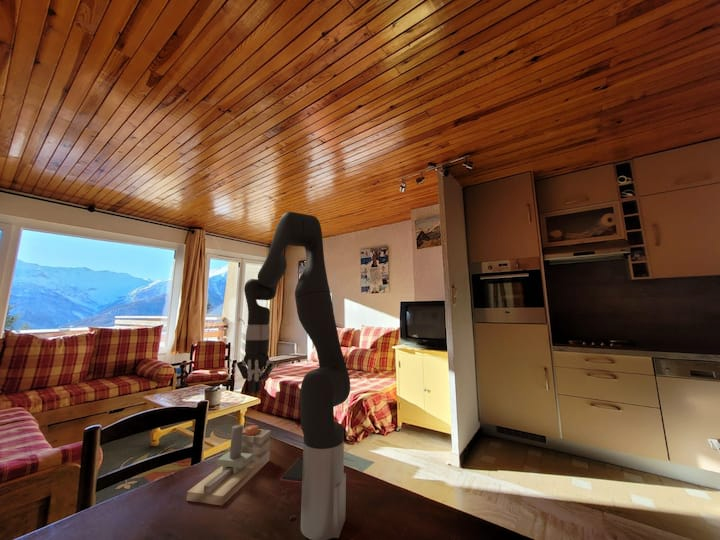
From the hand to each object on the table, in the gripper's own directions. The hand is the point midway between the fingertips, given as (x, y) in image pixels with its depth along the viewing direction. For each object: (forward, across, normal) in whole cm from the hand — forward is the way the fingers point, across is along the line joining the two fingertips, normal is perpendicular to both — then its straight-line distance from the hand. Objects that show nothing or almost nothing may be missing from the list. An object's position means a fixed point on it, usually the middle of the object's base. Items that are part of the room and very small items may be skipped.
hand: (254, 392), depth 93 cm
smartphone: (+22, -17, 0) cm, 28 cm away
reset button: (+14, 0, 0) cm, 14 cm away
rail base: (+21, 0, +9) cm, 23 cm away
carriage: (+19, 0, +8) cm, 20 cm away
